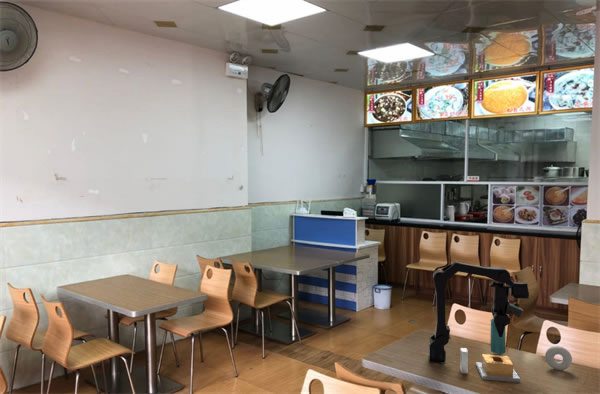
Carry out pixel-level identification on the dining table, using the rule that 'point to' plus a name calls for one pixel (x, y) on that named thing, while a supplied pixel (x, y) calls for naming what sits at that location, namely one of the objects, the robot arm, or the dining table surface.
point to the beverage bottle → (497, 340)
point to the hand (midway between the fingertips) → (499, 333)
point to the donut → (561, 351)
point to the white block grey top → (463, 360)
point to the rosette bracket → (497, 368)
